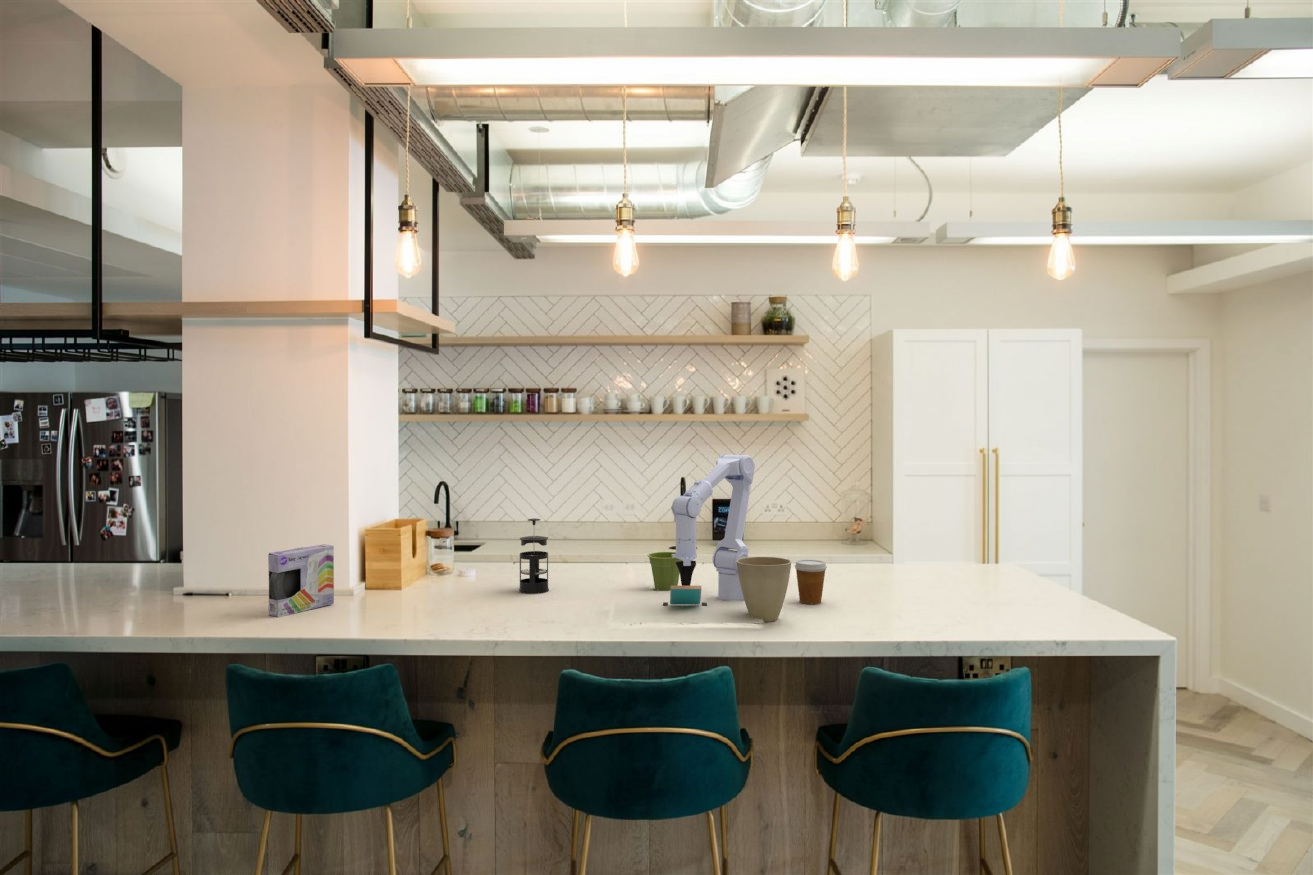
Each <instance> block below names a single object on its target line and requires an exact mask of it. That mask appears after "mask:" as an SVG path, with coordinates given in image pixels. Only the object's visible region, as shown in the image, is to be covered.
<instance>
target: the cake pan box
mask: <svg viewBox="0 0 1313 875" xmlns="http://www.w3.org/2000/svg"><path fill="white" fill-rule="evenodd" d="M334 546H335V545H330V544H326V543H324V544H319V545H318V544H317V545H310V546H302V547H295V548H290V549H285V550H280V551H279V550H278V551H273V552H268V554H267V557H268V560H267V561H268V616H270V617H271V616H272V617H276V618H281V617H285V616H289V615H293V614H297V613H298V614H299V613H302V612H305V611H310V610H314V609H319V608H321V607H327V606H329V605H333V604H334V603H335V591H334V589H335V576H334V574H335V572H334V570H335V569H334V568H335V567H334V566H335V564H334V562H335V561H334V559H335V556H334V554H335V553H334V550H335V548H334Z"/></svg>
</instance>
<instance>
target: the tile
mask: <svg viewBox="0 0 1313 875" xmlns="http://www.w3.org/2000/svg"><path fill="white" fill-rule="evenodd" d="M701 598H702V585H690V586H682V585H678V586H671V589H670V591H669V605H675V606H676V605H680V606H681V605H683V606H684V605H687V606H691V605H693V606H694V605H698V606H699V605H701Z"/></svg>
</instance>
